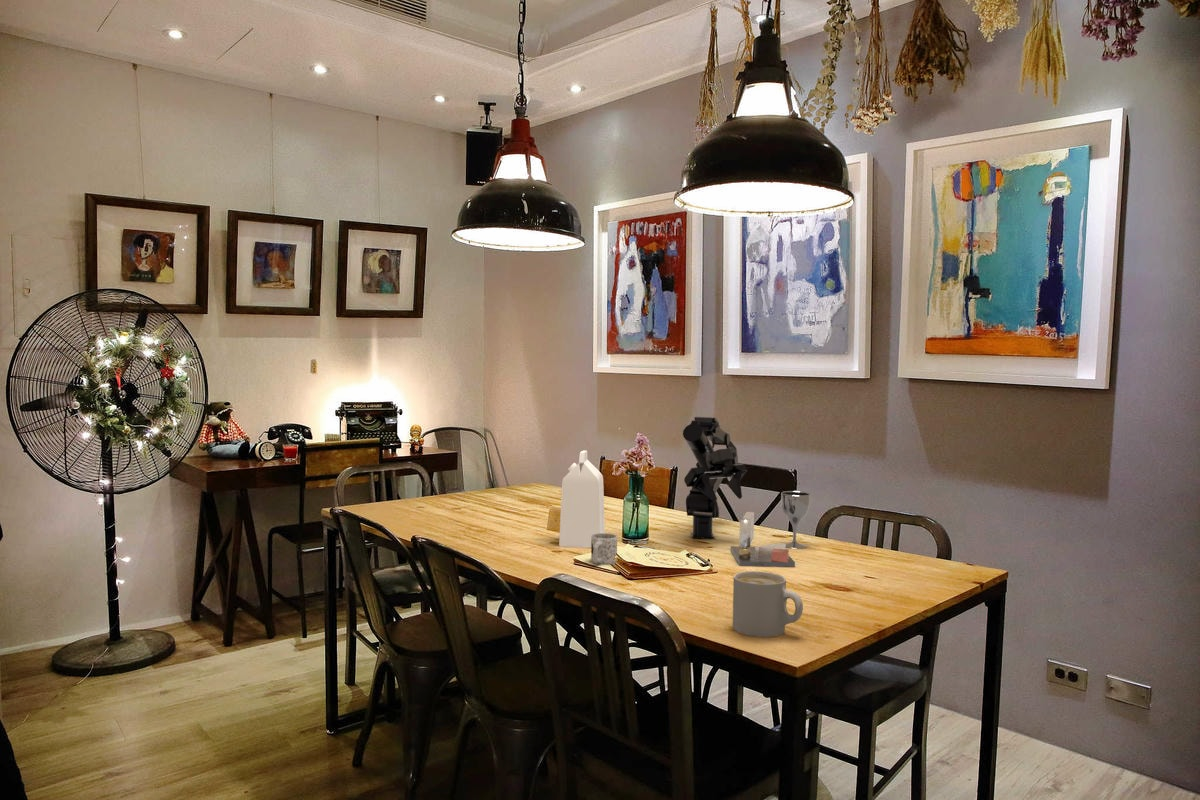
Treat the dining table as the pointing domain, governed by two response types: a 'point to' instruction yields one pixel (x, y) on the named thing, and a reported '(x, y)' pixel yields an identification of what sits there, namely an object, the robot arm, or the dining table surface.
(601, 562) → the mug
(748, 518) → the swing bar
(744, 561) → the base
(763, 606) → the coffee mug
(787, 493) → the wine glass
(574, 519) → the milk
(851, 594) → the dining table surface
